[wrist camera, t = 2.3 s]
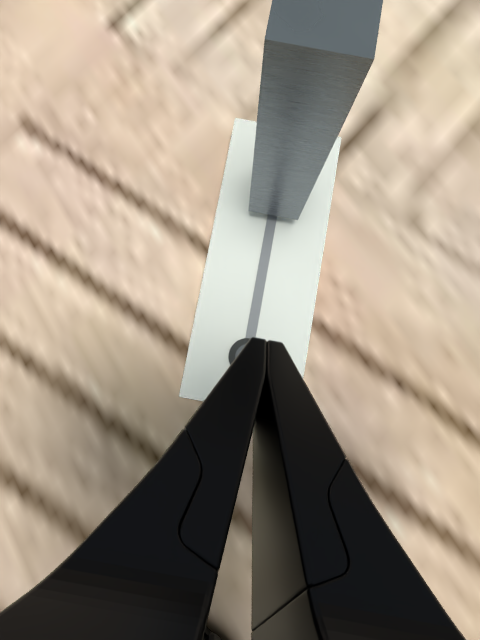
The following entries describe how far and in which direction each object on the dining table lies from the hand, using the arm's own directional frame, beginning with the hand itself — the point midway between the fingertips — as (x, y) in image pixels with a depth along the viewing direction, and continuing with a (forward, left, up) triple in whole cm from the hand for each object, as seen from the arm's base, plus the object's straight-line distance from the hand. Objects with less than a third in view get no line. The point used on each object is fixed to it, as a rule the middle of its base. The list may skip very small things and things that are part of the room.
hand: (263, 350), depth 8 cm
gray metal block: (+8, +5, -10) cm, 14 cm away
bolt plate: (+5, +3, -11) cm, 13 cm away
